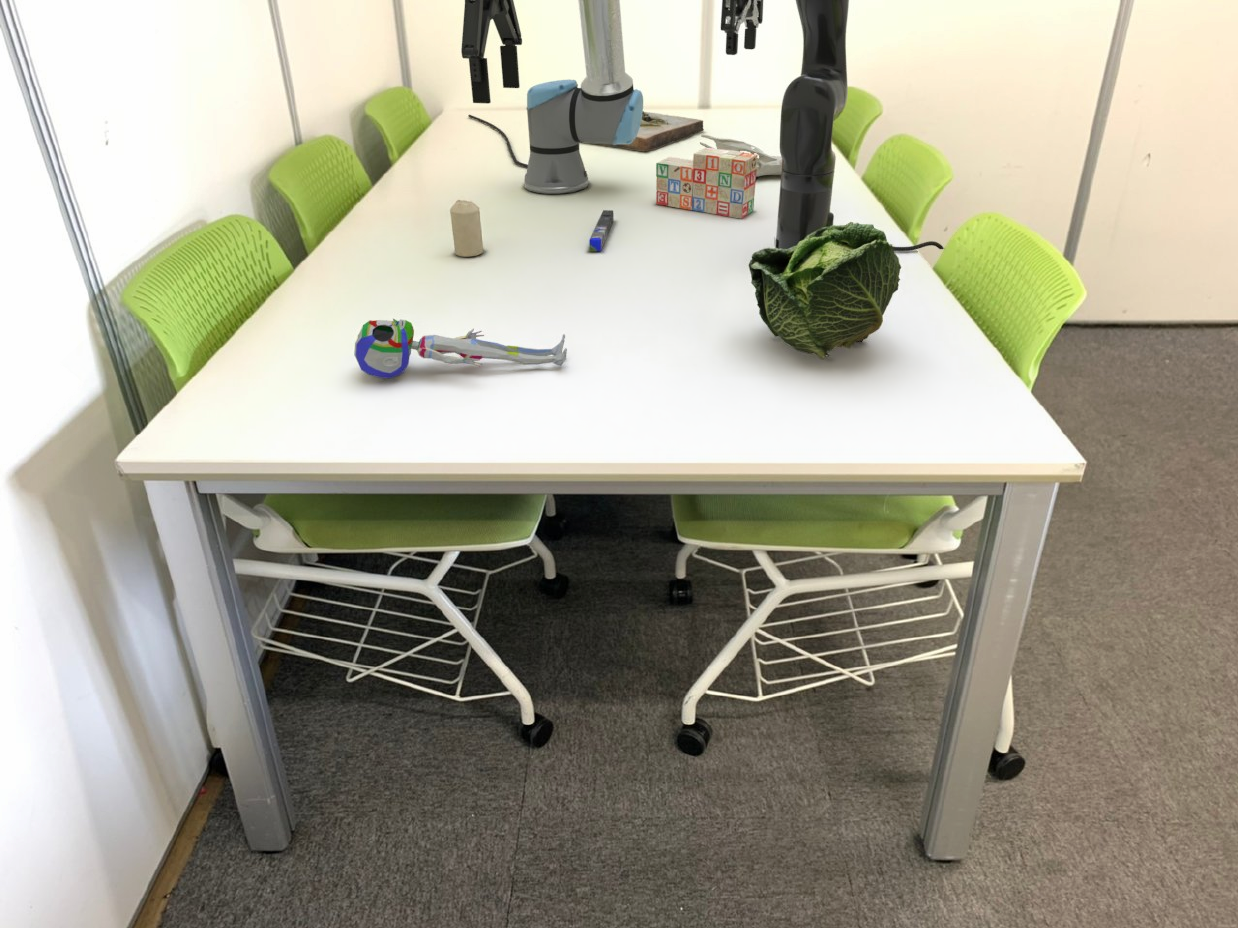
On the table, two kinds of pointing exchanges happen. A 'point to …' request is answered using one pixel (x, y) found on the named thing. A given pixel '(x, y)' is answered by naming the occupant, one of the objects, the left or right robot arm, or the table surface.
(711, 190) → the stack of blocks
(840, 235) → the vegetable
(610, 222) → the blue-tipped grey rod
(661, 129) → the plaque
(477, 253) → the candle
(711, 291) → the table surface
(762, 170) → the anatomical model
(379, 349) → the toy
